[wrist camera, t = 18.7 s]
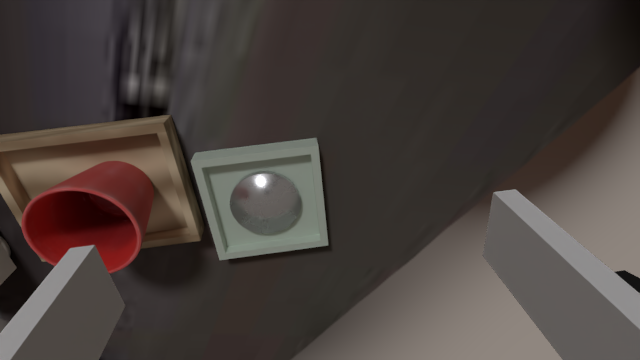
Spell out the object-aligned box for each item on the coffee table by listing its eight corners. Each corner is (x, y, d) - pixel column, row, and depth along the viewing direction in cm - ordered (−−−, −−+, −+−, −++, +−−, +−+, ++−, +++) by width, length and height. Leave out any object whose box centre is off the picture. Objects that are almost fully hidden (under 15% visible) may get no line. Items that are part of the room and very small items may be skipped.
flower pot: (64, 143, 40) (5, 184, 32) (165, 152, 42) (136, 193, 33) (79, 220, 45) (32, 274, 36) (169, 226, 47) (145, 278, 38)
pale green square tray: (195, 152, 43) (190, 161, 41) (316, 137, 44) (318, 145, 42) (222, 248, 50) (219, 260, 48) (326, 234, 51) (328, 245, 49)
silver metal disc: (223, 175, 44) (222, 178, 43) (295, 166, 44) (296, 169, 44) (238, 234, 48) (237, 237, 47) (303, 225, 48) (304, 228, 48)
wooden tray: (-8, 135, 40) (-28, 145, 37) (170, 114, 41) (163, 123, 38) (55, 246, 48) (42, 261, 45) (204, 227, 48) (200, 240, 46)
